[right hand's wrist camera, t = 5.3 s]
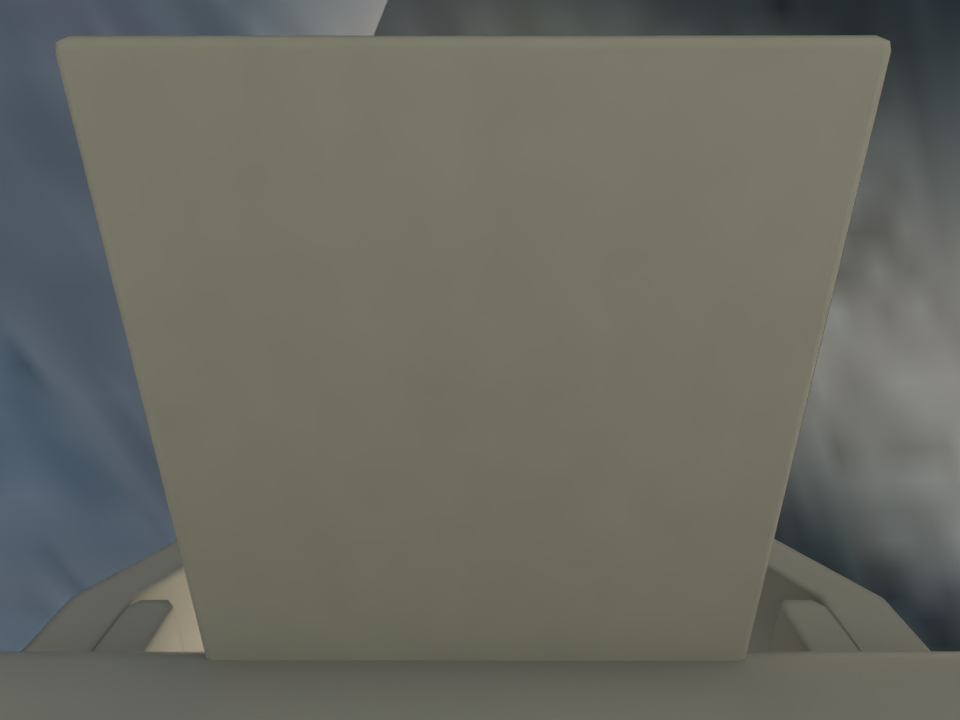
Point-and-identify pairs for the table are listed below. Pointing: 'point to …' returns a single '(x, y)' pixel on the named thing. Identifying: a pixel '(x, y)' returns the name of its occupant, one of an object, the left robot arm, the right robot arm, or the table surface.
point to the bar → (474, 325)
